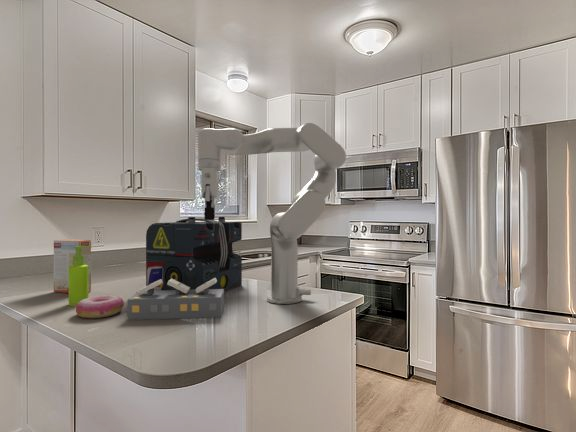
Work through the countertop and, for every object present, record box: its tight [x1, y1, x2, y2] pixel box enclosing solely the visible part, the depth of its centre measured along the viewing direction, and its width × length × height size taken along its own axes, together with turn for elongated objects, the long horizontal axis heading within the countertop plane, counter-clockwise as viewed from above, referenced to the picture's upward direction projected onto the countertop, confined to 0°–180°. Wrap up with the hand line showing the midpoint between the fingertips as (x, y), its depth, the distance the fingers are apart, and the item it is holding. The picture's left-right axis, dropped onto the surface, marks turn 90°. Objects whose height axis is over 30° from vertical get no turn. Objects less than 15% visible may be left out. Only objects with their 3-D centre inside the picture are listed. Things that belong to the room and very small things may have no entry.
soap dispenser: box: [68, 246, 92, 307], centre depth 124 cm, size 6×7×20 cm
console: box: [126, 287, 225, 321], centre depth 112 cm, size 27×12×8 cm, turn 96°
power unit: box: [145, 216, 243, 292], centre depth 148 cm, size 28×28×30 cm
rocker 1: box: [137, 279, 163, 294], centre depth 111 cm, size 7×4×1 cm, turn 96°
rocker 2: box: [167, 278, 190, 293], centre depth 112 cm, size 7×4×1 cm, turn 96°
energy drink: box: [147, 266, 163, 290], centre depth 127 cm, size 5×5×12 cm
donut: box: [75, 294, 125, 319], centre depth 111 cm, size 14×13×5 cm
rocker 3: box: [195, 278, 217, 293], centre depth 113 cm, size 7×4×1 cm, turn 96°
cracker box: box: [53, 239, 92, 294], centre depth 142 cm, size 14×6×21 cm, turn 69°
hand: (209, 219), depth 121 cm, fingers closed
